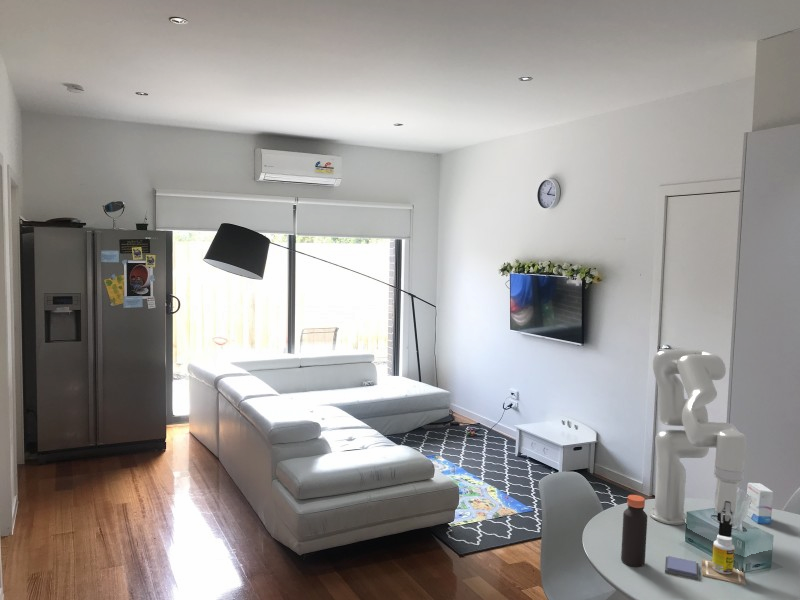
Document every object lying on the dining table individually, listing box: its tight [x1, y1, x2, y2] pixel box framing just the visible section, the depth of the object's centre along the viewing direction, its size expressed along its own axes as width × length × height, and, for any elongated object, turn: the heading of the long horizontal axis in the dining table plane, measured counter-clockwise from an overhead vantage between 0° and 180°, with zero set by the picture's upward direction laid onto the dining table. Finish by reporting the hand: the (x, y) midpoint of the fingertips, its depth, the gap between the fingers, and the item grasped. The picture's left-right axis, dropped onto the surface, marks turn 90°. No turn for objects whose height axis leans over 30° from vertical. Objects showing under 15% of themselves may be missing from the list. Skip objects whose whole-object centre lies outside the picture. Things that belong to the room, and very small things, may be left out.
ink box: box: [746, 482, 774, 525], centre depth 221 cm, size 9×5×12 cm, turn 179°
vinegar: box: [620, 494, 648, 568], centre depth 188 cm, size 7×7×20 cm
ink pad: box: [664, 555, 700, 581], centre depth 185 cm, size 9×9×2 cm
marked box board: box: [701, 558, 746, 586], centre depth 184 cm, size 11×11×1 cm
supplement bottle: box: [711, 533, 736, 574], centre depth 184 cm, size 6×6×10 cm
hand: (723, 528), depth 184 cm, fingers open, 9 cm apart
